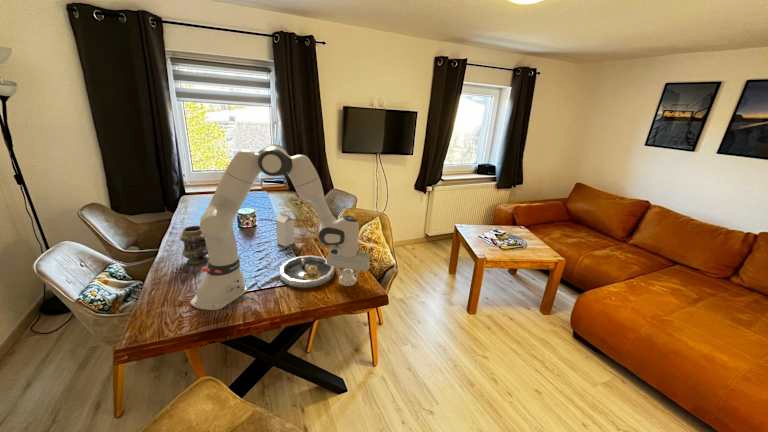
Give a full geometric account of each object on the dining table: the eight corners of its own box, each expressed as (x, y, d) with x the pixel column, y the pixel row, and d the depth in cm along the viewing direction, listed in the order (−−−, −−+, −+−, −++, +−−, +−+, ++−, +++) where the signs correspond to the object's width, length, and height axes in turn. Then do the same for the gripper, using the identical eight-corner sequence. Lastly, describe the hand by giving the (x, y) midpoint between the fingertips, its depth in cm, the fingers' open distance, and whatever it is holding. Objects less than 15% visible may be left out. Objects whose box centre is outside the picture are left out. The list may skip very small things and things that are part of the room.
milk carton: (285, 247, 176) (283, 216, 170) (277, 243, 180) (275, 213, 173) (294, 243, 182) (293, 213, 176) (286, 239, 186) (285, 210, 179)
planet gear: (353, 287, 143) (354, 276, 141) (336, 284, 144) (336, 274, 142) (358, 278, 150) (358, 268, 148) (341, 275, 152) (342, 265, 150)
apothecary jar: (207, 253, 163) (203, 222, 157) (214, 262, 155) (210, 229, 149) (181, 259, 155) (175, 227, 149) (187, 269, 147) (181, 235, 141)
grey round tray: (322, 292, 137) (322, 278, 135) (269, 283, 141) (268, 269, 139) (340, 265, 161) (341, 253, 159) (294, 257, 165) (294, 245, 163)
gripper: (371, 250, 143) (370, 275, 147) (330, 243, 146) (330, 269, 150) (368, 256, 137) (367, 282, 142) (325, 249, 140) (325, 275, 145)
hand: (347, 275), depth 146 cm, fingers open, 7 cm apart
